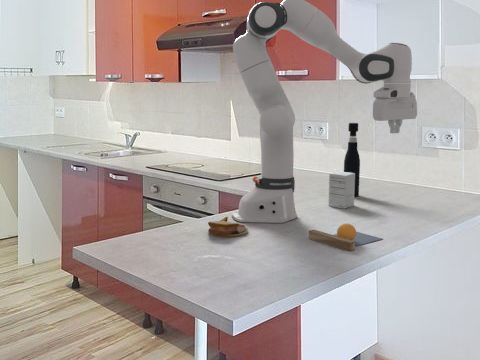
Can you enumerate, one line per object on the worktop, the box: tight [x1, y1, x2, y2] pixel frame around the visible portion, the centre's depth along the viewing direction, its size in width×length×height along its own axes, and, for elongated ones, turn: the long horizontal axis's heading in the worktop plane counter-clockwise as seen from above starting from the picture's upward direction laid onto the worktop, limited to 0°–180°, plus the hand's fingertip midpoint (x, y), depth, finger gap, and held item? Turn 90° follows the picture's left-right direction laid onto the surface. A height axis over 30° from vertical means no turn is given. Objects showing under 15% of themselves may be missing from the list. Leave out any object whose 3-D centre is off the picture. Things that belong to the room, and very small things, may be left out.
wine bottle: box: [343, 122, 361, 198], centre depth 227 cm, size 6×6×30 cm
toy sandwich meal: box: [207, 216, 249, 238], centre depth 172 cm, size 12×14×5 cm
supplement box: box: [328, 170, 355, 209], centre depth 210 cm, size 7×7×13 cm
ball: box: [336, 222, 357, 240], centre depth 162 cm, size 6×6×6 cm
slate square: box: [333, 231, 383, 247], centre depth 167 cm, size 12×12×1 cm
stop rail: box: [308, 229, 356, 252], centre depth 160 cm, size 2×16×2 cm, turn 38°
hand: (394, 133), depth 190 cm, fingers closed
